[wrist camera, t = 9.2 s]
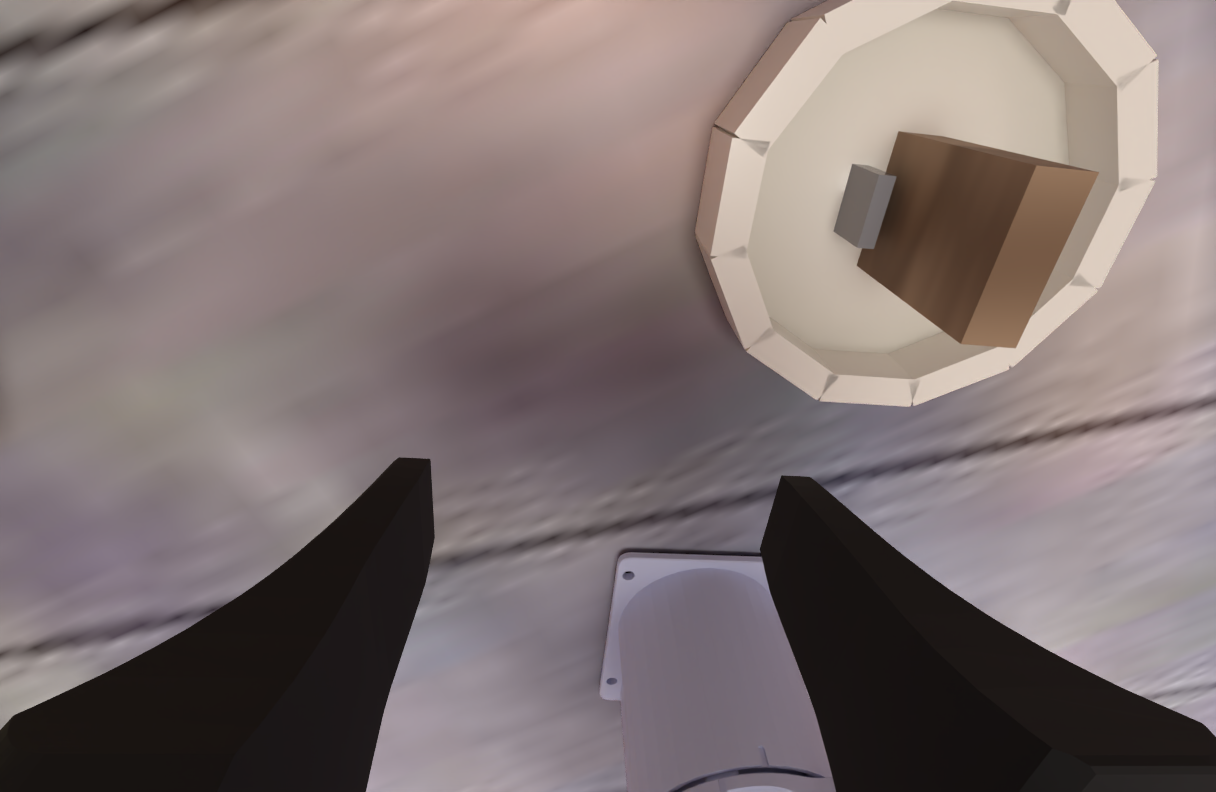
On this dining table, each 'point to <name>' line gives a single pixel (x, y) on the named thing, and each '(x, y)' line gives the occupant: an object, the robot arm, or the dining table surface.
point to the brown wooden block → (973, 234)
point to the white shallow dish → (861, 188)
